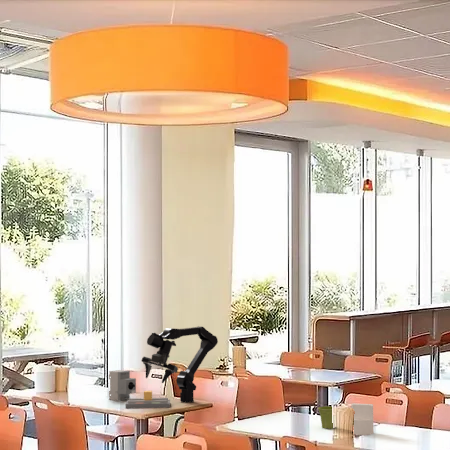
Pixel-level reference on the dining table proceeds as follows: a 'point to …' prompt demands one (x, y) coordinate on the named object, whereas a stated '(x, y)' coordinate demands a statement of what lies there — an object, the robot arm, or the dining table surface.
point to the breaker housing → (148, 403)
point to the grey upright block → (363, 419)
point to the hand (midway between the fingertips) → (154, 380)
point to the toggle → (147, 395)
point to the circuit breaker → (121, 385)
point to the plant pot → (326, 417)
